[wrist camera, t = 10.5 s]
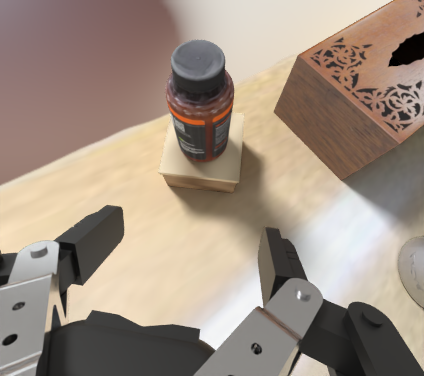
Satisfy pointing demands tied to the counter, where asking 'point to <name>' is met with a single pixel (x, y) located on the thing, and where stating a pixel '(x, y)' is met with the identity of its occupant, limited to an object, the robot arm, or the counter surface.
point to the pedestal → (204, 171)
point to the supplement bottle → (200, 99)
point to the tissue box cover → (359, 88)
